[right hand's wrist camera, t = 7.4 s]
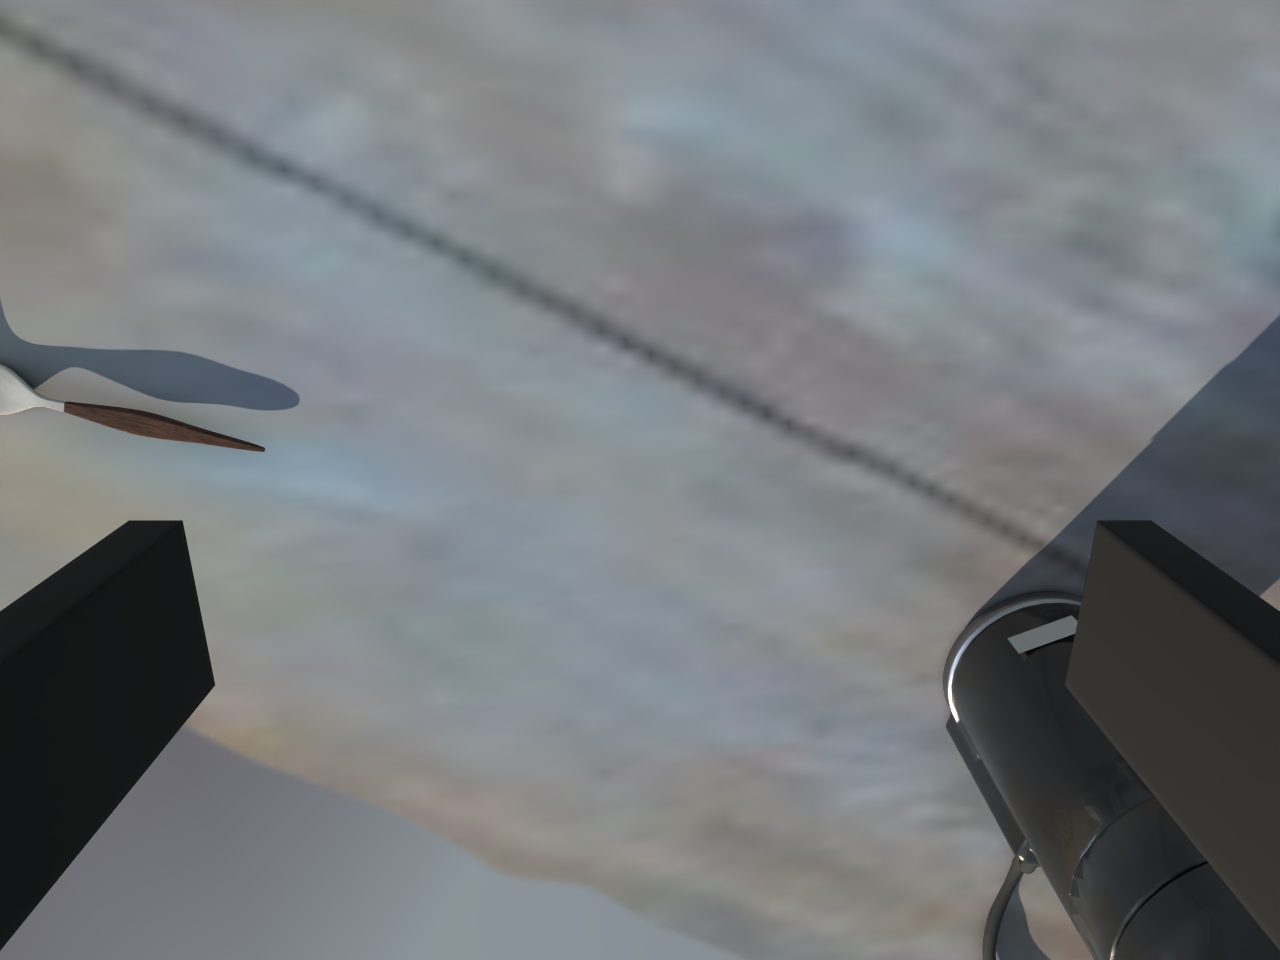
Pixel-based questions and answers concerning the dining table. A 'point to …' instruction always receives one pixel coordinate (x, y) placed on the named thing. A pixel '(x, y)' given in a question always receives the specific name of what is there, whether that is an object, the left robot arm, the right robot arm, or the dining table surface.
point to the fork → (111, 416)
